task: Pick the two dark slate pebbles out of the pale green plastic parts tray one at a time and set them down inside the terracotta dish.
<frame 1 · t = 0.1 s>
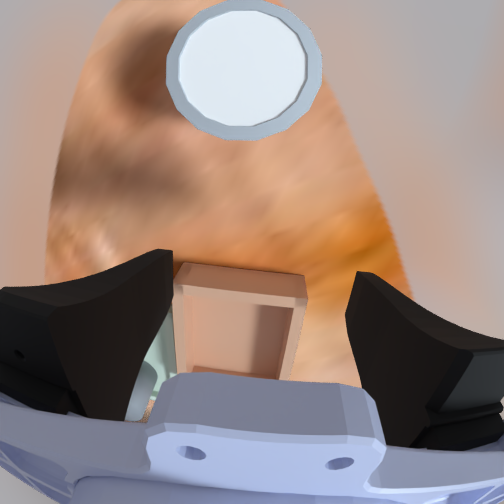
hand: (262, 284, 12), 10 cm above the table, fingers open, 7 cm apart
dish: (238, 328, 25), on the table
pebble a: (139, 371, 28), resting on parts tray
parts tray: (136, 349, 27), on the table
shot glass: (252, 84, 18), on the table
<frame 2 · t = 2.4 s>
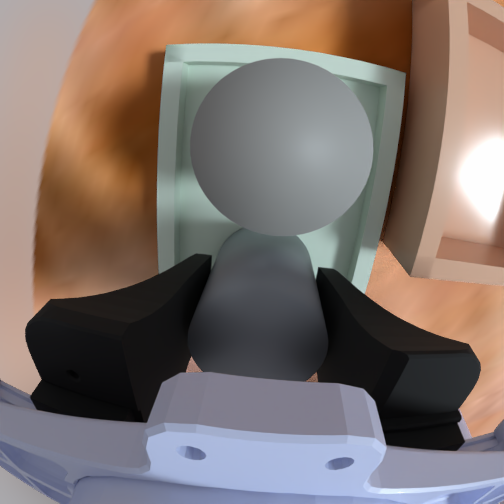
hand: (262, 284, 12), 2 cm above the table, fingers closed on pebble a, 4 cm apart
dish: (487, 142, 10), on the table
pebble a: (263, 269, 13), resting on parts tray, touching gripper
pebble b: (278, 137, 11), resting on parts tray
parts tray: (271, 204, 12), on the table
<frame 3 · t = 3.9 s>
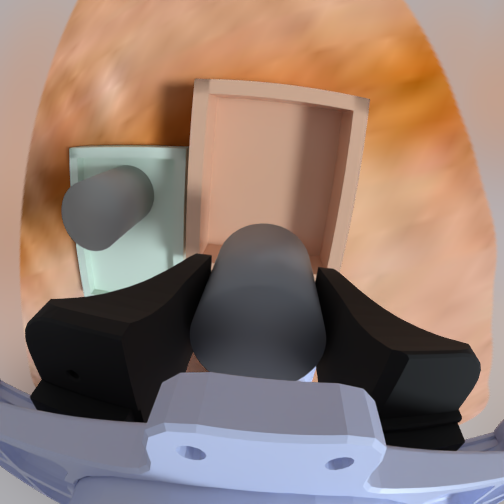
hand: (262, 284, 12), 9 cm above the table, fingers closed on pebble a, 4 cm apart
dish: (272, 177, 19), on the table
pebble a: (263, 268, 13), point 7 cm above the table, touching gripper
pebble b: (127, 194, 20), resting on parts tray
parts tray: (130, 229, 21), on the table
when the fingers open (4 cm above the table, at t = 5.2 s): pebble a drops 2 cm, resting on dish.
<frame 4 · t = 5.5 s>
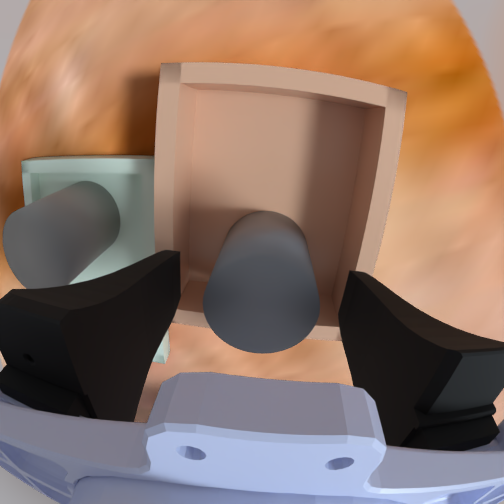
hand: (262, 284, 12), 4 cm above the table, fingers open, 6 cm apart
dish: (271, 195, 14), on the table
pebble a: (265, 250, 15), point 1 cm above the table, touching dish
pebble b: (89, 217, 15), resting on parts tray
parts tray: (97, 259, 17), on the table
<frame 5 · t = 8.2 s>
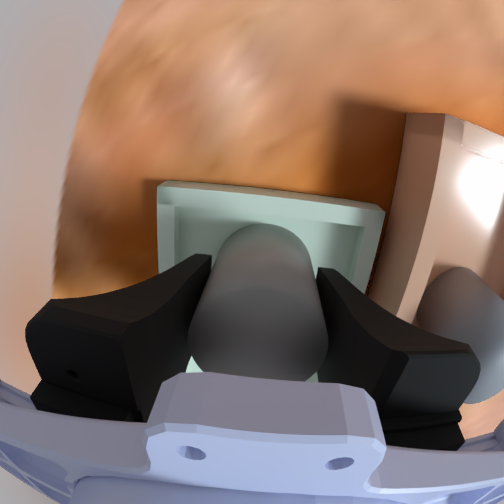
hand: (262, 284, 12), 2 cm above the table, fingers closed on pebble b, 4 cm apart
dish: (462, 251, 12), on the table
pebble a: (450, 303, 13), point 1 cm above the table, touching dish
pebble b: (263, 269, 13), resting on parts tray, touching gripper
parts tray: (257, 316, 15), on the table
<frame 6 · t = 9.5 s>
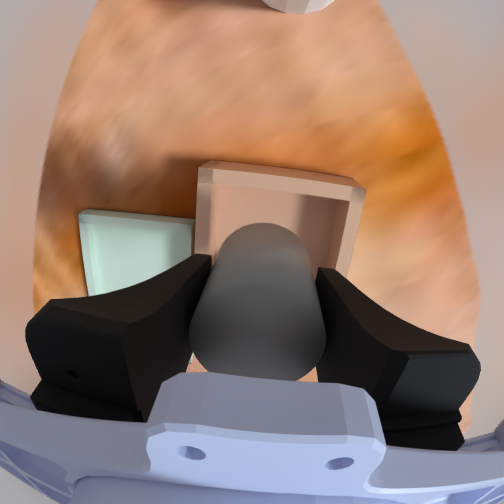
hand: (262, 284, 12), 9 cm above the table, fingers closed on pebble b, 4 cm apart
dish: (271, 249, 21), on the table
pebble b: (263, 267, 13), point 7 cm above the table, touching gripper
parts tray: (140, 287, 23), on the table
when the fingers open (4 cm above the table, at t = 10.9 s): pebble b drops 2 cm, resting on dish.
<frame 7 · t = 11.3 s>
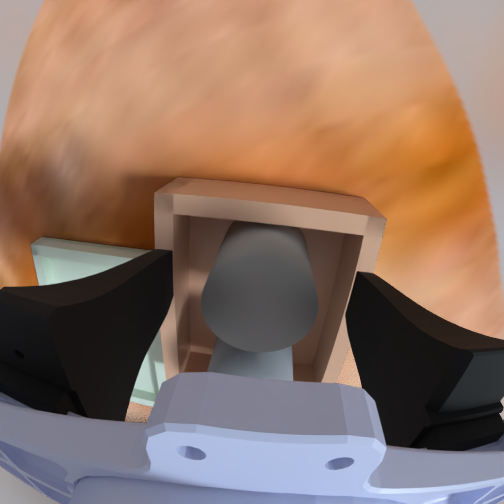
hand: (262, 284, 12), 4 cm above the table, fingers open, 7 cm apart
dish: (260, 288, 16), on the table
pebble a: (255, 333, 17), point 1 cm above the table, touching dish
pebble b: (264, 250, 15), point 1 cm above the table, touching dish
parts tray: (108, 327, 19), on the table
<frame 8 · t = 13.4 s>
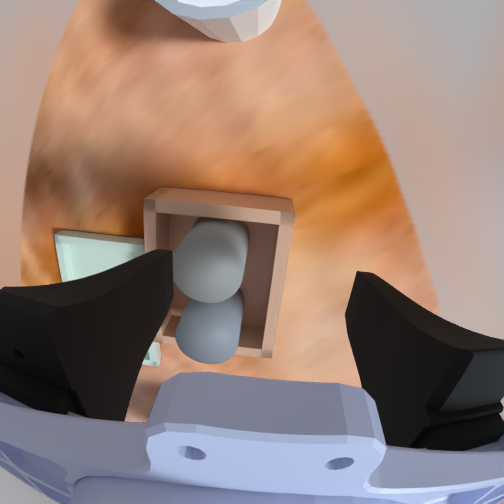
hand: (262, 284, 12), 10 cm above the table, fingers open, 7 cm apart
dish: (220, 265, 23), on the table
pebble a: (217, 299, 23), point 1 cm above the table, touching dish
pebble b: (220, 237, 21), point 1 cm above the table, touching dish
parts tray: (111, 298, 25), on the table
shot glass: (235, 7, 16), on the table
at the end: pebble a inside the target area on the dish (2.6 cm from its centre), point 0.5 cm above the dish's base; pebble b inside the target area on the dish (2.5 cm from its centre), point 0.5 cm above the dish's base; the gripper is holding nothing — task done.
